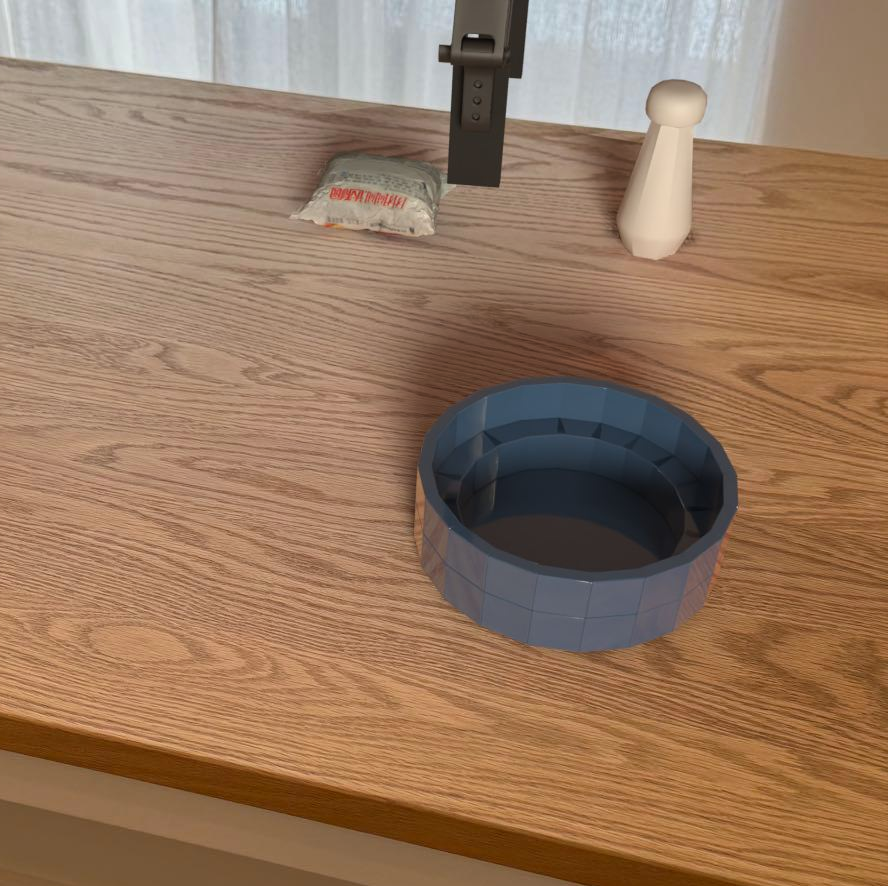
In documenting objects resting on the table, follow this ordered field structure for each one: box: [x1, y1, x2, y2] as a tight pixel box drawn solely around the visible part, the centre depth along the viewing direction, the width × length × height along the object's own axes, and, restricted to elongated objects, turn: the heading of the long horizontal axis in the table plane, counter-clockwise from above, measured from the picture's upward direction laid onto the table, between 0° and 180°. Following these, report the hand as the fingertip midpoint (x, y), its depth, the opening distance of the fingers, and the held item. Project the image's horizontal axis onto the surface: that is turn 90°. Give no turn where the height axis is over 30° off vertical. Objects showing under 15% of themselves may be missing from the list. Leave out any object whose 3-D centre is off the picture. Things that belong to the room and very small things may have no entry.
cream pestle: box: [615, 78, 708, 261], centre depth 94 cm, size 6×6×13 cm
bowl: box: [413, 375, 739, 653], centre depth 71 cm, size 18×18×6 cm
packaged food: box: [288, 150, 457, 238], centre depth 100 cm, size 9×12×5 cm
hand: (487, 125), depth 69 cm, fingers open, 13 cm apart
